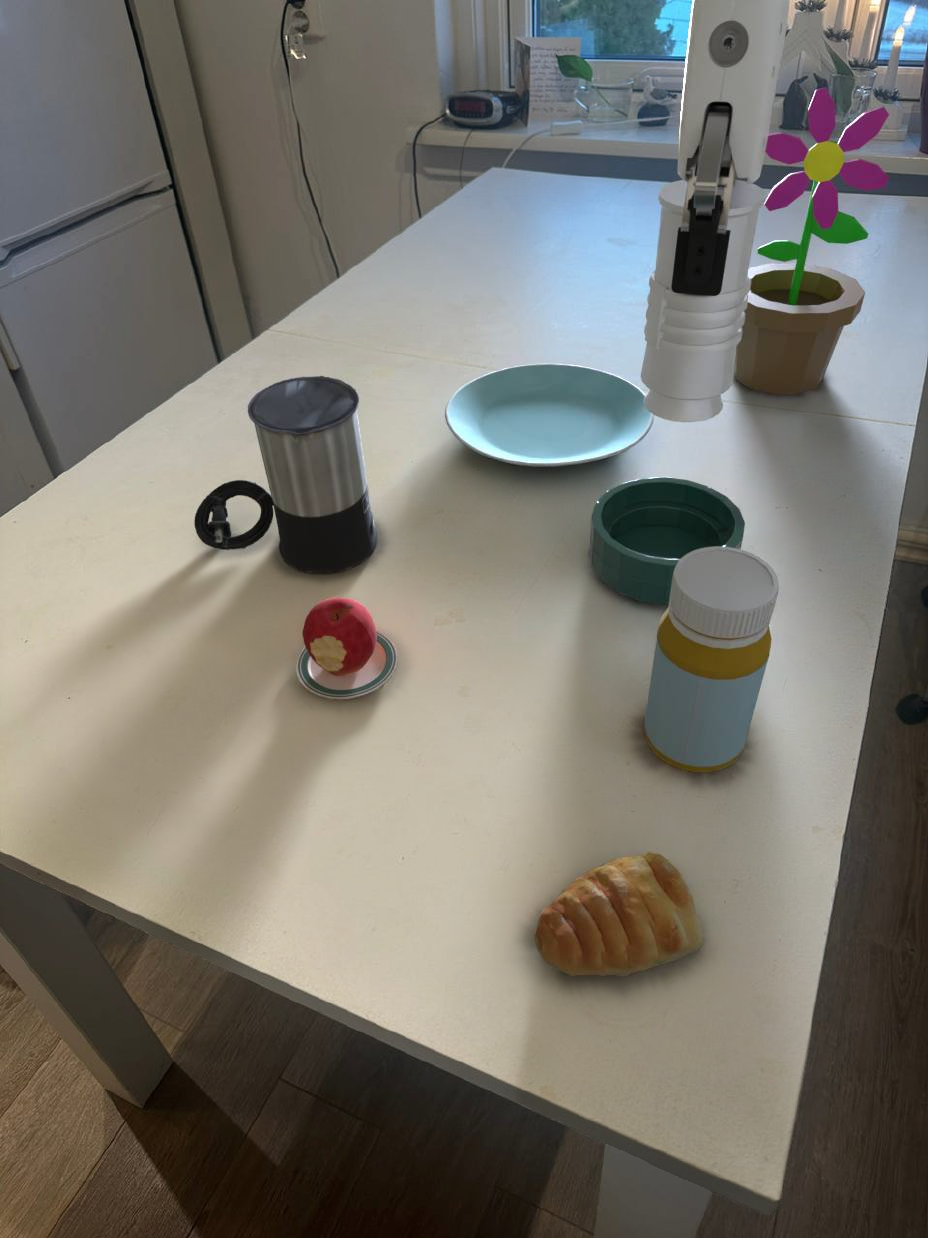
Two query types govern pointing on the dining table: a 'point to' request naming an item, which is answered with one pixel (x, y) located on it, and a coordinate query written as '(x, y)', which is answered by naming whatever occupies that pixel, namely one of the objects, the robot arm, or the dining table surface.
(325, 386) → the milk frother
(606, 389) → the plate
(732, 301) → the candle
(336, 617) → the apple
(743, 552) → the bottle
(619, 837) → the dining table surface
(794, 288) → the flowerpot
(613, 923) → the pastry
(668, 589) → the bowl
